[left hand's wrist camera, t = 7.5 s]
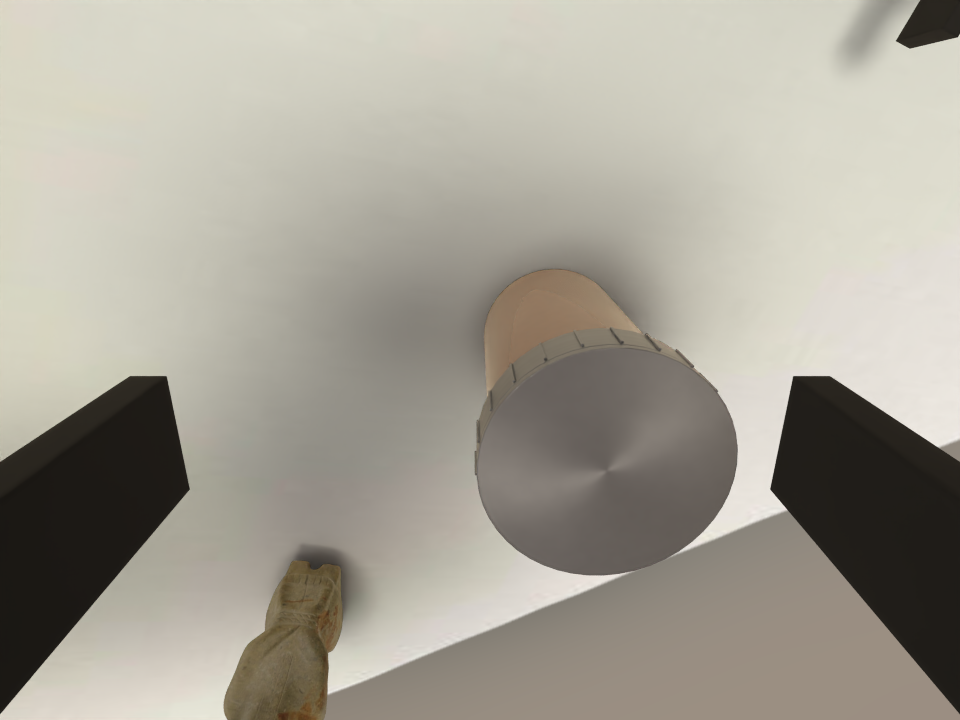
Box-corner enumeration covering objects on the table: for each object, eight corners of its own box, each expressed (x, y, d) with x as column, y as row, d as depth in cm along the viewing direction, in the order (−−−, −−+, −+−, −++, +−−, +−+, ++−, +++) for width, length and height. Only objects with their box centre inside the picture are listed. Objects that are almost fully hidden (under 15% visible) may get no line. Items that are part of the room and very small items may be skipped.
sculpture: (270, 620, 43) (172, 852, 29) (280, 542, 40) (178, 753, 26) (348, 633, 43) (289, 866, 29) (363, 556, 41) (305, 771, 27)
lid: (443, 503, 24) (440, 538, 22) (527, 290, 21) (533, 307, 19) (650, 564, 25) (666, 603, 23) (758, 371, 22) (789, 396, 20)
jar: (465, 374, 36) (460, 522, 22) (512, 249, 34) (541, 325, 19) (586, 413, 38) (657, 580, 23) (641, 295, 35) (759, 400, 20)
